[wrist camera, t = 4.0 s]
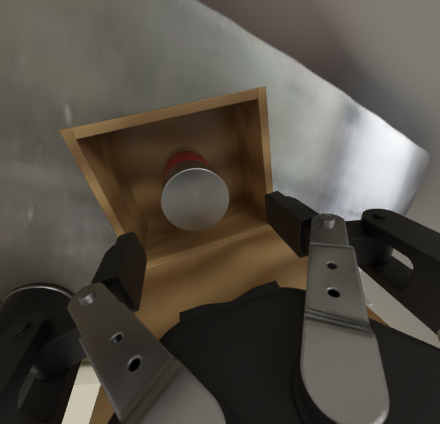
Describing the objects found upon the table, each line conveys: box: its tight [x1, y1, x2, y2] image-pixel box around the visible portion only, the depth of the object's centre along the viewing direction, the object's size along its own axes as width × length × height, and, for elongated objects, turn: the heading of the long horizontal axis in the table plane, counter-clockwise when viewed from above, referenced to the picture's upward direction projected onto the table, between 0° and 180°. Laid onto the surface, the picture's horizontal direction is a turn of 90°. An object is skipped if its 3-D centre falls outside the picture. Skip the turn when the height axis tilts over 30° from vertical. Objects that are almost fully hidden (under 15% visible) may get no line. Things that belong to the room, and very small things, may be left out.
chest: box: [60, 86, 273, 268], centre depth 23 cm, size 15×17×9 cm
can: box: [161, 147, 229, 231], centre depth 20 cm, size 5×5×12 cm
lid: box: [89, 229, 390, 424], centre depth 16 cm, size 15×17×5 cm
